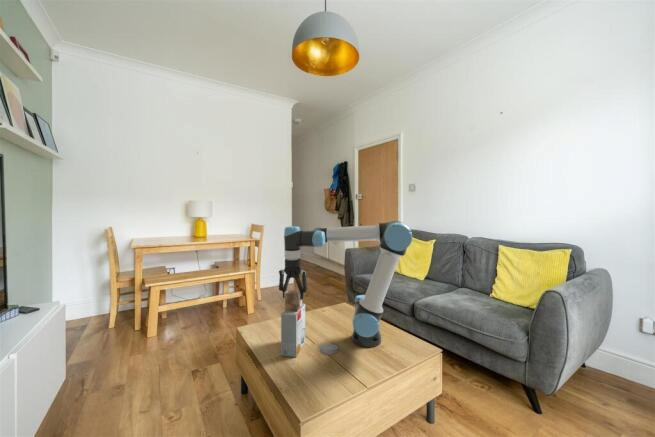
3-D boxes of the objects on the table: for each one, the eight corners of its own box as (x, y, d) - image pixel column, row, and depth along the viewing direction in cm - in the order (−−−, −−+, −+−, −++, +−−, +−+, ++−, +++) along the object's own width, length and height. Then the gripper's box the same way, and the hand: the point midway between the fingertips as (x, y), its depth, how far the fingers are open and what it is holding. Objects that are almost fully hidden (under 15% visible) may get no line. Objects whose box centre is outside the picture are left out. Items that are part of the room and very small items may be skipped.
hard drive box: (296, 358, 124) (295, 315, 122) (280, 356, 125) (280, 314, 124) (305, 340, 139) (305, 303, 138) (291, 339, 140) (291, 302, 139)
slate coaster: (339, 346, 134) (339, 344, 134) (336, 356, 125) (336, 354, 125) (322, 343, 136) (322, 342, 136) (317, 353, 128) (317, 352, 127)
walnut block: (301, 306, 133) (300, 291, 132) (297, 311, 127) (296, 295, 127) (289, 305, 134) (289, 290, 134) (285, 310, 128) (284, 294, 128)
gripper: (314, 257, 131) (314, 303, 132) (277, 256, 135) (278, 300, 137) (309, 261, 123) (310, 309, 125) (270, 259, 128) (271, 306, 129)
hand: (293, 305), depth 131 cm, fingers open, 6 cm apart
